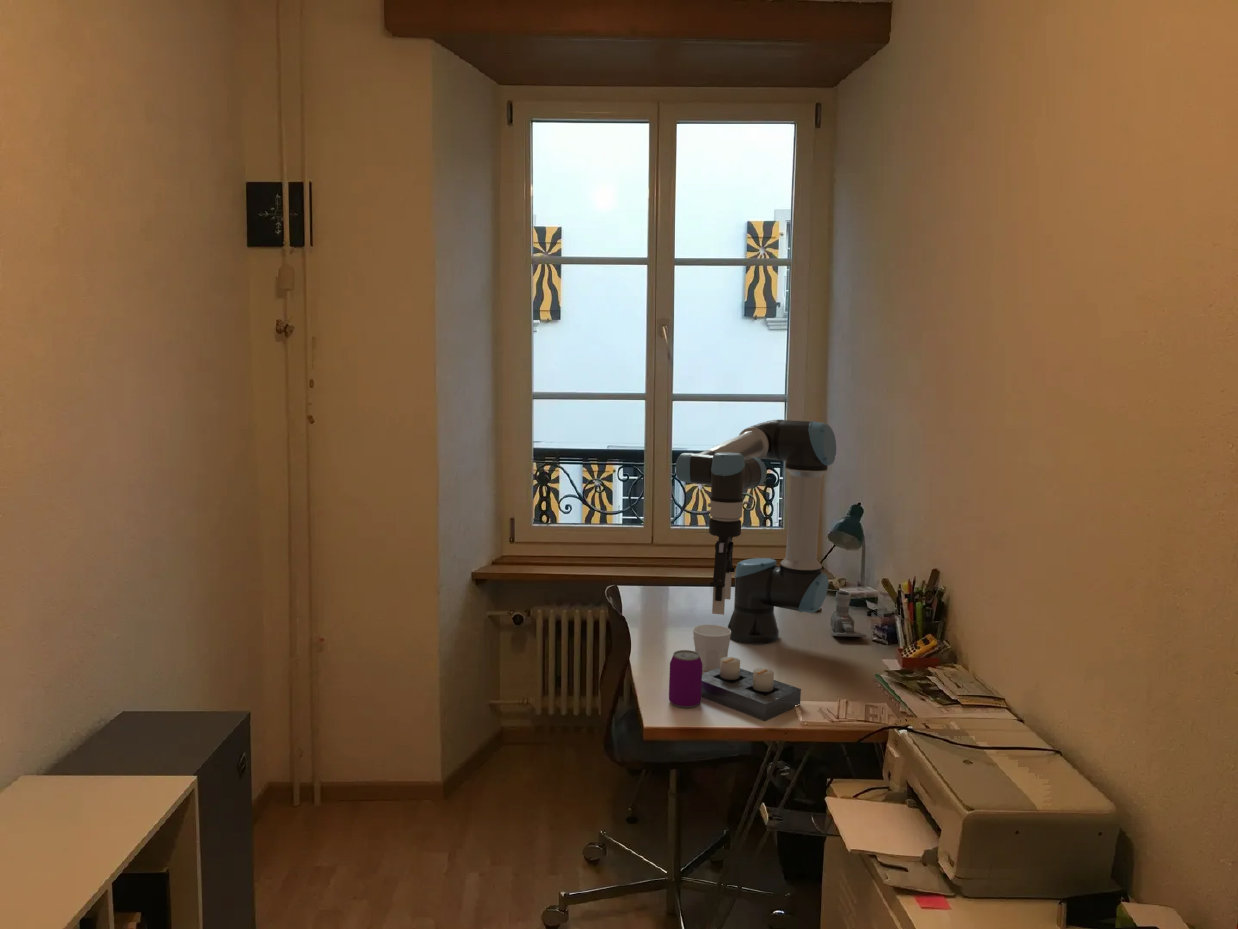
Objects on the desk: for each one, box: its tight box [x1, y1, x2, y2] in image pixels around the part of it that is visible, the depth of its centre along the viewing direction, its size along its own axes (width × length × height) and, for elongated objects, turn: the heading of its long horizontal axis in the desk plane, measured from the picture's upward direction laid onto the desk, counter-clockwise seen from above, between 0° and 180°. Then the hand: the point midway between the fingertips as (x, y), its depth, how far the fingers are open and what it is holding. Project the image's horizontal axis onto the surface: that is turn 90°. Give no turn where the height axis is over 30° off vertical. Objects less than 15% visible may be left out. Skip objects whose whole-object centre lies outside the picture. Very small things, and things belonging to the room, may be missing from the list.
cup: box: [692, 624, 731, 672], centre depth 232 cm, size 10×10×10 cm
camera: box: [830, 590, 867, 638], centre depth 262 cm, size 9×12×15 cm
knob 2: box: [753, 667, 775, 692], centre depth 207 cm, size 5×5×4 cm
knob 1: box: [720, 656, 741, 680], centre depth 214 cm, size 5×5×4 cm
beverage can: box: [668, 649, 703, 709], centre depth 207 cm, size 8×8×12 cm
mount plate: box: [701, 667, 802, 722], centre depth 211 cm, size 14×22×4 cm, turn 44°
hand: (721, 606), depth 208 cm, fingers open, 13 cm apart
